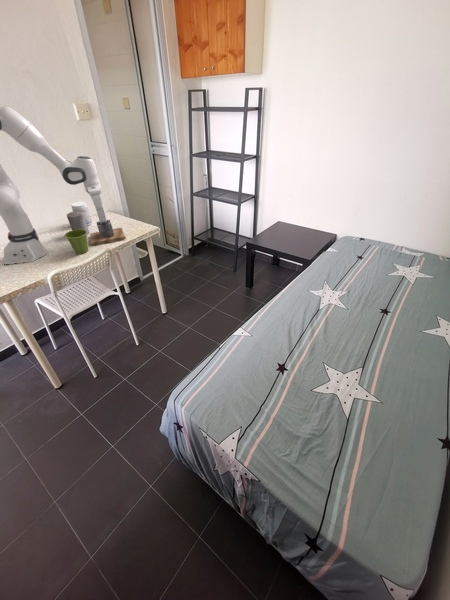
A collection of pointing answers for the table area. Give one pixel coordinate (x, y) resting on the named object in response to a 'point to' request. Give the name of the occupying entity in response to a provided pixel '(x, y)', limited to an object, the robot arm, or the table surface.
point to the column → (101, 216)
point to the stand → (106, 234)
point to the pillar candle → (77, 221)
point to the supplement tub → (83, 208)
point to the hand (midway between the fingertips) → (100, 211)
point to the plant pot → (78, 240)
